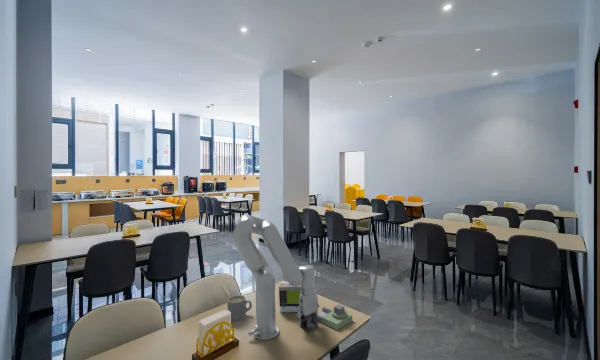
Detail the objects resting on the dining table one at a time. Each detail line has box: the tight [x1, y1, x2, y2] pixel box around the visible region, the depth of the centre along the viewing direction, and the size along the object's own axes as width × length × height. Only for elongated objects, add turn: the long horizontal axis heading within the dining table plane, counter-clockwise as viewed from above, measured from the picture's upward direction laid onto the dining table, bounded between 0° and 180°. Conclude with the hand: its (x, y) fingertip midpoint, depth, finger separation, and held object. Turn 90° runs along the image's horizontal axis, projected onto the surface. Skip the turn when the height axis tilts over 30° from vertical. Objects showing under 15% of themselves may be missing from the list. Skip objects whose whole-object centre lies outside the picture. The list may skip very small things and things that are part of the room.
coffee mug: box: [226, 294, 253, 322], centre depth 158 cm, size 13×10×10 cm
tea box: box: [278, 280, 301, 313], centre depth 166 cm, size 15×10×15 cm, turn 84°
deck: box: [317, 304, 353, 331], centre depth 152 cm, size 13×18×8 cm
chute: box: [299, 312, 319, 332], centre depth 145 cm, size 6×7×7 cm
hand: (308, 324), depth 145 cm, fingers closed on chute, 6 cm apart
